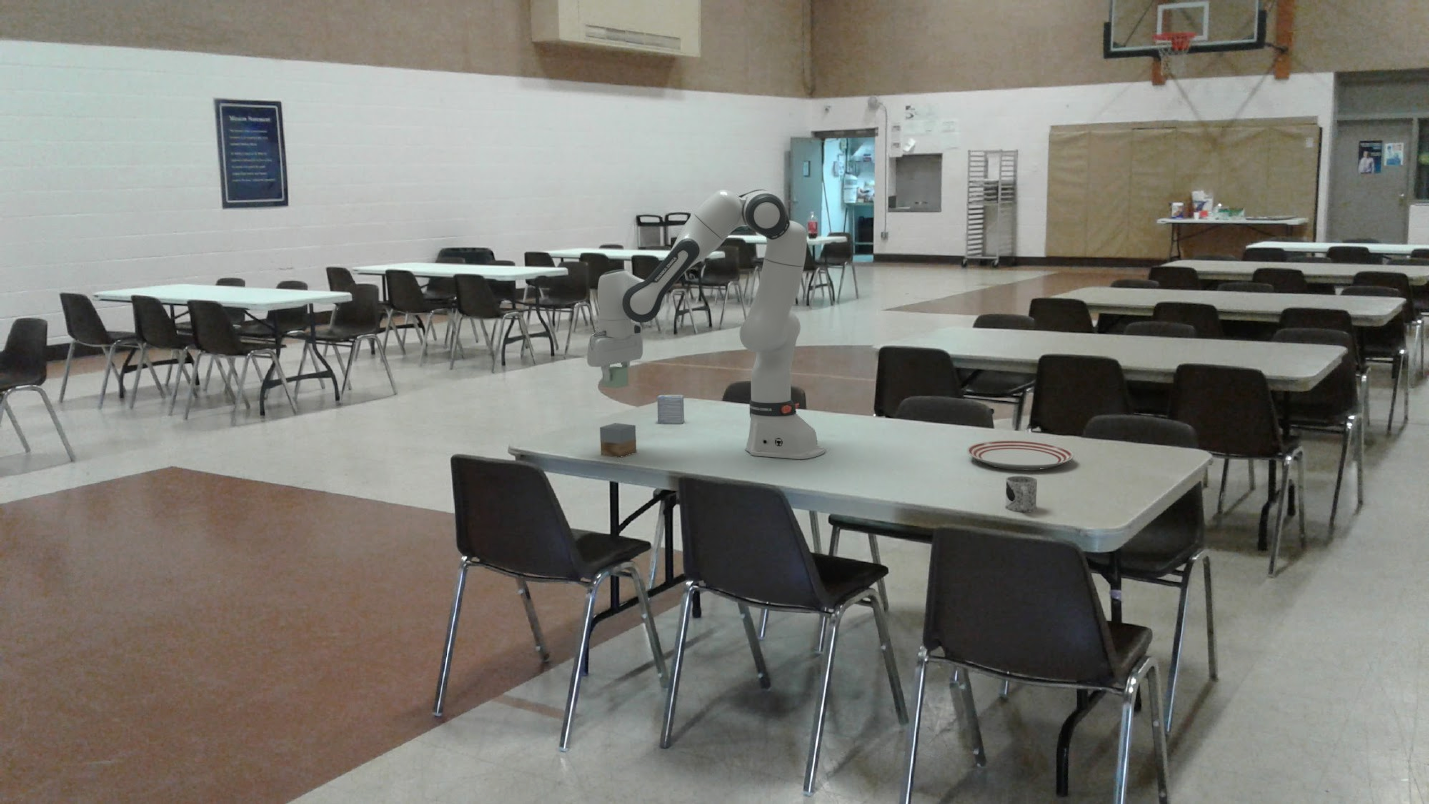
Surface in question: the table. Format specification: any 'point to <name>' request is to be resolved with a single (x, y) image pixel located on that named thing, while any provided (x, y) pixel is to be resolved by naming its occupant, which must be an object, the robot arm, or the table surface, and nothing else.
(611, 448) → the tower base
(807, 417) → the table surface
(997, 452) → the dinner plate
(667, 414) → the medicine box
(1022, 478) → the mug
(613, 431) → the tower top
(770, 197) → the robot arm
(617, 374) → the sage block
